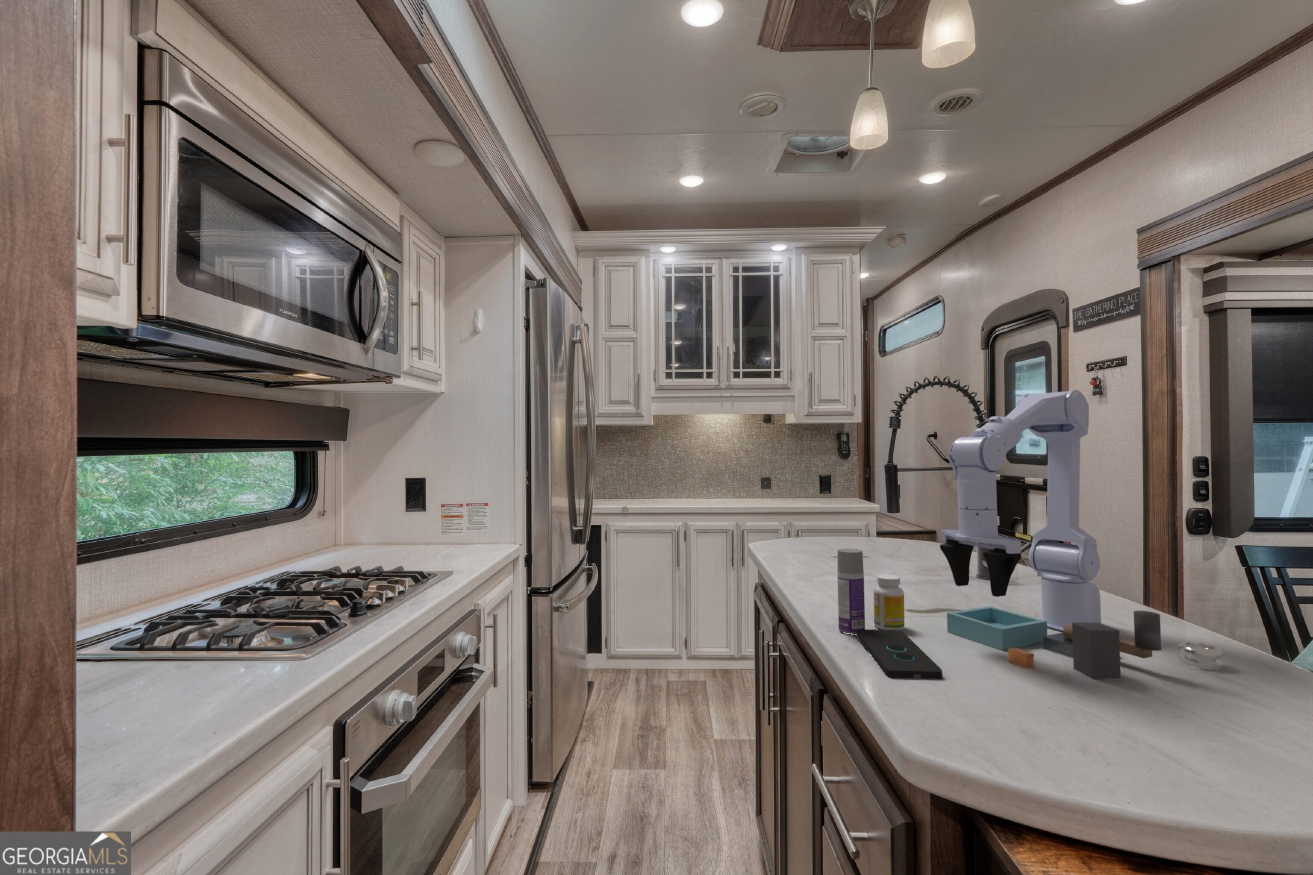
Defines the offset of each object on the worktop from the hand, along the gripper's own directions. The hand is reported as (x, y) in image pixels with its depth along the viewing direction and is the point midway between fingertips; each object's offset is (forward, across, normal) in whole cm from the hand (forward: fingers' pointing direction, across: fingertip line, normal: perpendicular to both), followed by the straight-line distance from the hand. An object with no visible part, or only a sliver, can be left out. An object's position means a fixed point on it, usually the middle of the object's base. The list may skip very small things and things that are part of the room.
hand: (979, 590), depth 97 cm
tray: (+10, -5, +9) cm, 14 cm away
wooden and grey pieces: (+10, +6, +9) cm, 15 cm away
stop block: (+10, +13, +8) cm, 18 cm away
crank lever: (+8, +10, +15) cm, 20 cm away
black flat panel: (+11, -3, -14) cm, 18 cm away
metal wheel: (+10, +15, +27) cm, 32 cm away
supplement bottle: (+10, -16, -6) cm, 20 cm away
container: (+10, -16, -14) cm, 24 cm away
